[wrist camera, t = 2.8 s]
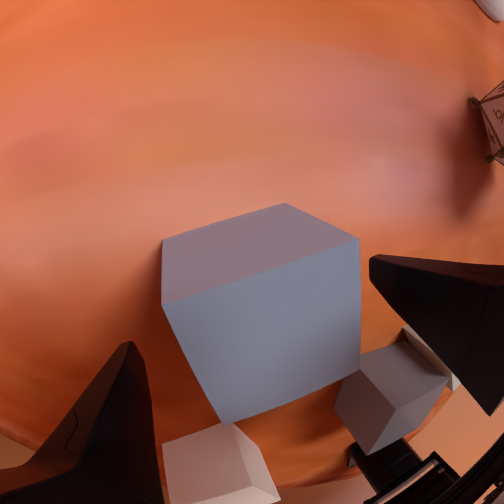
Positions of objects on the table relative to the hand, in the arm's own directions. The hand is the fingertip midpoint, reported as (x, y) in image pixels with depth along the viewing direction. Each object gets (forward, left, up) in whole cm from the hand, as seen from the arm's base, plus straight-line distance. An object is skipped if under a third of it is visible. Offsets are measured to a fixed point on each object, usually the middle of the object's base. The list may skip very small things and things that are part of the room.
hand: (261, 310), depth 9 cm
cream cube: (-12, +5, -3) cm, 13 cm away
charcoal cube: (-11, -7, -3) cm, 13 cm away
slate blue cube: (0, 0, -3) cm, 3 cm away
